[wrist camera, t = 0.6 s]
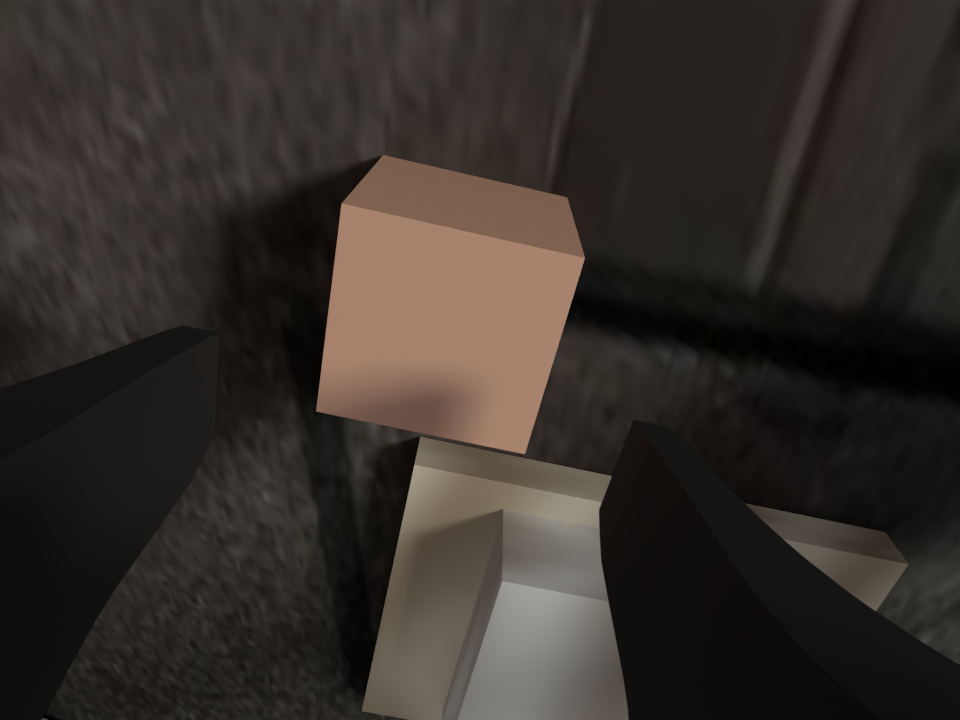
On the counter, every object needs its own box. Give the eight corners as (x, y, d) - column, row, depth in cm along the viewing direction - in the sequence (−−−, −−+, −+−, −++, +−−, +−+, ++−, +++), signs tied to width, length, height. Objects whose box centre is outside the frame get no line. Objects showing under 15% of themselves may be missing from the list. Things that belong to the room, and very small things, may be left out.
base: (885, 531, 23) (964, 643, 19) (745, 745, 28) (783, 865, 24) (420, 436, 22) (399, 532, 18) (368, 677, 27) (344, 791, 23)
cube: (566, 196, 18) (584, 258, 14) (522, 357, 20) (525, 454, 16) (383, 154, 18) (341, 203, 13) (359, 322, 20) (316, 411, 16)
